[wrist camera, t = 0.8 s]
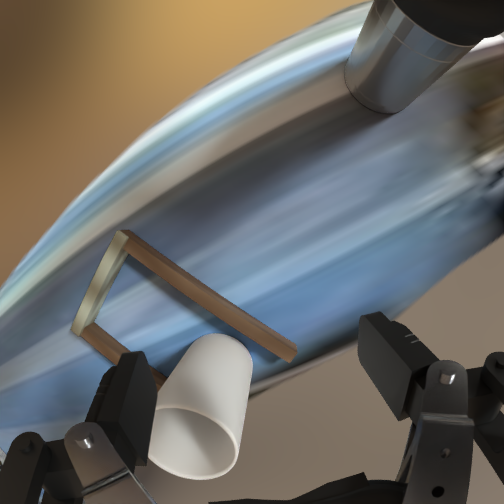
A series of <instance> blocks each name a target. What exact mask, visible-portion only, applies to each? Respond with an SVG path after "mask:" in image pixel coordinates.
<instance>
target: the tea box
mask: <svg viewBox="0 0 504 504" xmlns="http://www.w3.org/2000/svg"><path fill="white" fill-rule="evenodd" d="M5 458H6V454H5V453H4V452H3V450H2V449H1V448H0V470H1V468H2V465H3V463H4V460H5Z"/></svg>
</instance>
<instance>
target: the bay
mask: <svg viewBox="0 0 504 504" xmlns="http://www.w3.org/2000/svg"><path fill="white" fill-rule="evenodd" d="M128 254H130V255H132V256H133V257H134V258H136V259H137V260H138V261H140V262H141V263H142V264H144V265H145V266H146V267H148V268H149V269H150V270H152V271H153V272H154V273H156V274H157V275H158V276H160V277H161V278H162V279H164V280H165V281H167V282H168V283H169V284H171V285H172V286H174V287H175V288H176V289H178V290H179V291H181V292H182V293H183V294H185V295H186V296H188V297H189V298H190V299H192V300H193V301H195V302H196V303H198V304H199V305H201V306H202V307H203V308H205V309H206V310H208V311H209V312H211V313H212V314H214V315H215V316H217V317H218V318H220V319H221V320H223V321H224V322H226V323H227V324H229V325H230V326H232V327H233V328H235V329H236V330H238V331H239V332H241V333H242V334H244V335H245V336H247V337H249V338H250V339H252V340H253V341H255V342H256V343H258V344H260V345H261V346H263V347H264V348H266V349H268V350H269V351H271V352H272V353H274V354H276V355H277V356H279V357H280V358H282V359H284V360H285V361H287V362H289V363H290V362H291V360H292V359H293V358H294V357H295V355H296V354H297V347H296V344H294V343H293V342H291V341H290V340H288V339H286V338H285V337H283V336H282V335H280V334H279V333H277V332H275V331H274V330H272V329H271V328H269V327H268V326H266V325H265V324H263V323H262V322H260V321H258V320H257V319H255V318H254V317H252V316H251V315H249V314H248V313H246V312H245V311H243V310H242V309H240V308H239V307H237V306H236V305H234V304H233V303H231V302H230V301H228V300H227V299H225V298H224V297H222V296H221V295H219V294H218V293H216V292H215V291H214V290H212V289H211V288H209V287H208V286H206V285H205V284H203V283H202V282H201V281H199V280H198V279H196V278H195V277H193V276H192V275H190V274H189V273H188V272H186V271H185V270H183V269H182V268H181V267H179V266H178V265H176V264H175V263H174V262H172V261H171V260H169V259H168V258H167V257H165V256H164V255H162V254H161V253H160V252H158V251H157V250H156V249H154V248H153V247H151V246H150V245H149V244H147V243H146V242H145V241H143V240H142V239H141V238H139V237H138V236H137V235H135V234H134V233H132V232H131V231H130V230H117V232H116V234H115V235H114V237H113V239H112V241H111V243H110V245H109V247H108V249H107V251H106V253H105V255H104V257H103V259H102V261H101V263H100V265H99V267H98V269H97V271H96V273H95V275H94V277H93V279H92V281H91V284H90V286H89V288H88V290H87V292H86V294H85V297H84V299H83V301H82V303H81V306H80V308H79V310H78V313H77V315H76V317H75V320H74V322H73V325H72V327H71V330H72V331H73V332H74V333H75V334H76V335H77V336H78V337H79V336H82V337H83V338H84V339H85V340H86V341H87V342H89V343H90V344H91V345H92V346H93V347H94V348H96V349H97V350H98V351H99V352H100V353H102V354H103V355H104V356H105V357H107V358H108V359H109V360H110V361H112V362H113V363H114V364H115V365H117V364H118V362H119V359H120V357H121V354H122V353H123V352H131V351H129V350H128V349H127V348H126V347H124V346H123V345H122V344H120V343H119V342H118V341H117V340H115V339H114V338H113V337H112V336H110V335H109V334H108V333H107V332H105V331H104V330H103V329H102V328H101V327H99V326H98V325H97V324H96V323H95V322H94V321H95V319H96V317H97V315H98V313H99V310H100V308H101V306H102V304H103V302H104V300H105V298H106V296H107V294H108V292H109V290H110V288H111V286H112V284H113V282H114V280H115V278H116V276H117V274H118V273H119V271H120V269H121V267H122V265H123V263H124V261H125V259H126V257H127V256H128ZM149 367H150V370H151V372H152V375H153V377H154V380H155V382H156V386H157V393H158V391H159V390H160V389H161V387H162V386H163V384H164V383H165V381H166V380H167V379H168V378H167V377H165V376H164V375H163V374H161V373H160V372H158V371H157V370H155V369H154V368H153V367H151V366H150V365H149Z"/></svg>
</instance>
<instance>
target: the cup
mask: <svg viewBox="0 0 504 504" xmlns="http://www.w3.org/2000/svg"><path fill="white" fill-rule="evenodd" d="M252 369H253V363H252V358H251V355H250V353H249V351H248V350H247V348H246V347H245V346H244V345H243V344H242V343H241V342H240V341H238V340H237V339H235V338H233V337H231V336H229V335H225V334H219V333H213V334H207V335H204V336H202V337H200V338H198V339H197V340H195V341H194V342H193V343H192V344H191V346H190V347H189V349H188V350H187V352H186V353H185V354H184V356H183V357H182V359H181V360H180V362H179V363H178V364H177V366H176V367H175V369H174V370H173V372H172V373H171V374H170V376H169V377H168V379H167V380H166V381H165V383H164V384H163V386H162V387H161V389H160V390H159V391H158V397H157V403H156V409H155V415H154V421H153V427H152V433H151V439H150V445H149V452H148V458H150V460H152V461H153V462H154V463H155V464H156V465H158V466H159V467H161V468H162V469H164V470H166V471H168V472H170V473H172V474H174V475H177V476H180V477H184V478H188V479H196V480H205V479H212V478H216V477H219V476H221V475H223V474H225V473H227V472H228V471H229V470H230V469H231V468H232V467H233V466H234V464H235V462H236V460H237V457H238V453H239V447H240V441H241V436H242V430H243V423H244V418H245V412H246V406H247V400H248V394H249V388H250V382H251V376H252Z"/></svg>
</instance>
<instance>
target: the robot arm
mask: <svg viewBox="0 0 504 504" xmlns="http://www.w3.org/2000/svg"><path fill="white" fill-rule="evenodd" d="M502 32H504V0H374V2H373V4H372V6H371V9H370V11H369V13H368V16H367V18H366V20H365V23H364V25H363V27H362V30H361V32H360V34H359V37H358V39H357V41H356V43H355V46H354V48H353V50H352V52H351V55H350V57H349V59H348V62H347V64H346V67H345V73H344V75H345V81H346V84H347V86H348V88H349V90H350V92H351V93H352V95H353V96H354V97H355V98H356V99H357V100H358V101H359V102H360V103H362V104H363V105H364V106H366V107H368V108H369V109H371V110H374V111H376V112H380V113H386V114H387V113H396V112H400V111H401V110H403V109H405V108H406V107H407V106H408V105H409V104H410V103H411V102H413V101H414V100H415V99H416V98H417V97H418V96H420V95H421V94H422V93H423V92H424V91H425V90H426V89H427V88H429V87H430V86H431V85H432V84H433V83H434V82H435V81H436V80H438V79H439V78H440V77H441V76H442V75H443V74H444V73H446V72H447V71H448V70H449V69H450V68H451V67H452V66H453V65H455V64H456V63H457V62H458V61H459V60H460V59H461V58H462V57H463V56H464V55H466V54H467V53H468V52H469V51H470V50H471V49H472V48H474V47H475V46H476V45H477V44H478V43H479V42H480V41H481V40H483V39H484V38H489V37H494V36H497V35H499V34H501V33H502ZM358 357H359V361H360V363H361V365H362V366H363V368H364V369H365V371H366V372H367V374H368V375H369V377H370V378H371V380H372V381H373V383H374V384H375V386H376V387H377V389H378V390H379V392H380V394H381V395H382V397H383V398H384V400H385V401H386V403H387V404H388V406H389V407H390V409H391V410H392V412H393V413H394V415H395V416H396V418H397V420H398V421H401V420H403V419H406V418H408V417H410V418H411V420H412V424H411V427H410V431H409V435H408V440H407V444H406V447H405V451H404V455H403V459H402V462H401V466H400V469H399V472H398V474H397V477H396V479H395V481H391V480H367V478H366V476H365V474H364V472H362V473H359V474H356V475H353V476H350V477H346V478H343V479H340V480H337V481H333V482H329V483H326V484H324V485H322V486H320V487H319V488H316V489H314V490H312V491H310V492H308V493H306V494H303V495H301V496H299V497H297V498H295V499H292V500H260V499H240V500H231V501H219V502H209V504H466V501H467V495H468V489H469V482H470V474H471V464H472V453H473V439H474V440H475V442H476V443H477V445H478V446H479V448H480V449H481V450H482V452H483V453H484V455H485V456H486V458H487V460H488V461H489V463H490V464H491V466H492V467H493V469H494V470H495V472H496V473H497V475H498V477H499V478H500V480H501V481H502V483H503V485H504V414H503V413H502V412H501V411H500V409H501V407H502V405H504V352H494V353H491V354H489V355H488V356H487V358H486V360H485V363H484V366H483V367H478V368H472V369H466V370H465V368H464V367H463V366H462V365H460V364H459V363H457V362H455V361H450V360H441V361H440V360H439V359H438V358H437V357H436V356H435V355H434V354H433V353H432V352H431V351H430V350H429V349H428V348H427V347H426V346H425V345H424V344H423V343H422V342H421V341H419V339H418V338H417V337H416V336H415V335H413V333H412V332H411V331H410V330H409V329H408V328H407V327H406V326H404V325H403V324H400V323H398V322H396V321H390V320H389V319H388V318H387V317H386V316H385V315H384V314H383V313H382V312H380V311H379V312H375V313H371V314H366V315H362V316H361V317H360V320H359V335H358ZM99 386H100V387H98V389H97V392H96V395H95V397H94V399H93V401H92V404H91V407H90V409H89V412H88V414H87V417H86V419H85V422H82V423H79V424H76V425H75V426H73V427H72V428H71V429H69V431H68V432H67V433H66V435H65V438H64V439H61V440H56V441H50V442H45V441H44V440H43V439H42V437H41V436H40V435H39V434H37V433H35V432H25V433H22V434H20V435H19V436H17V437H16V438H15V439H14V440H13V442H12V444H11V446H10V448H9V451H8V453H7V455H6V458H5V460H4V463H3V465H2V468H1V470H0V504H38V501H39V497H40V493H41V490H42V488H43V489H44V494H43V498H42V502H41V504H82V503H83V498H84V500H85V502H86V504H157V503H156V502H155V500H154V499H153V498H152V497H151V495H150V494H149V493H148V492H147V490H146V489H145V488H144V486H143V485H142V484H141V483H140V481H139V480H138V478H137V477H136V476H135V475H134V470H135V466H146V465H147V459H148V452H149V445H150V439H151V433H152V427H153V421H154V415H155V409H156V403H157V397H158V393H157V386H156V382H155V380H154V377H153V375H152V372H151V370H150V367H149V364H148V362H147V359H146V356H145V354H144V352H143V351H136V352H123V353H122V354H121V357H120V359H119V362H118V364H117V366H112V367H111V368H110V369H109V370H108V371H107V372H106V373H105V374H104V375H103V377H102V380H101V382H100V384H99Z"/></svg>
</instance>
